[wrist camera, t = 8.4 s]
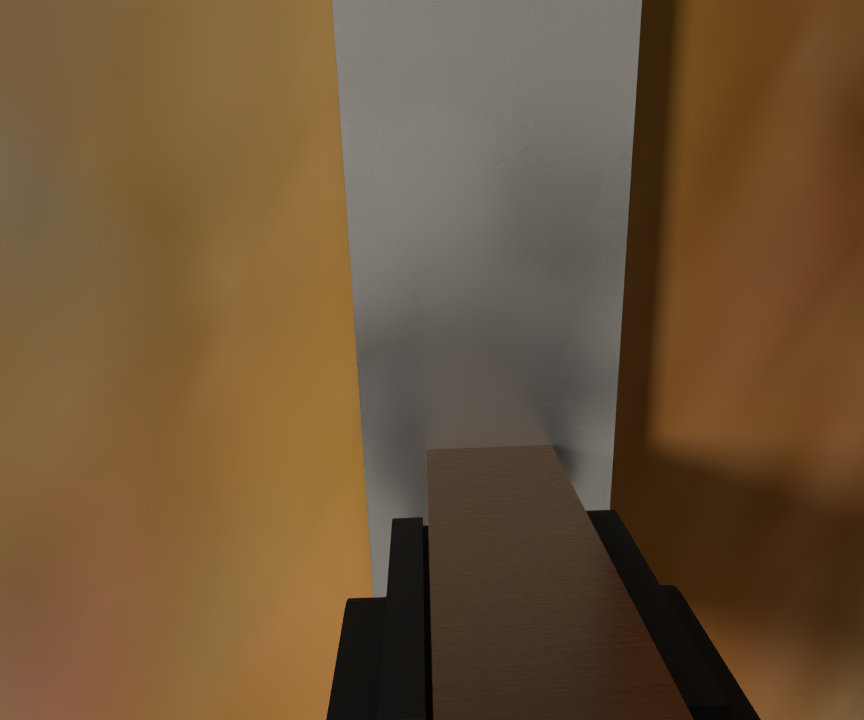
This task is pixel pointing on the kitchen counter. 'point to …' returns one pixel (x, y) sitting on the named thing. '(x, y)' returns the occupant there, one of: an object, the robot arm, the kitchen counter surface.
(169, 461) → the kitchen counter surface
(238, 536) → the kitchen counter surface
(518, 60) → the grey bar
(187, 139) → the kitchen counter surface
